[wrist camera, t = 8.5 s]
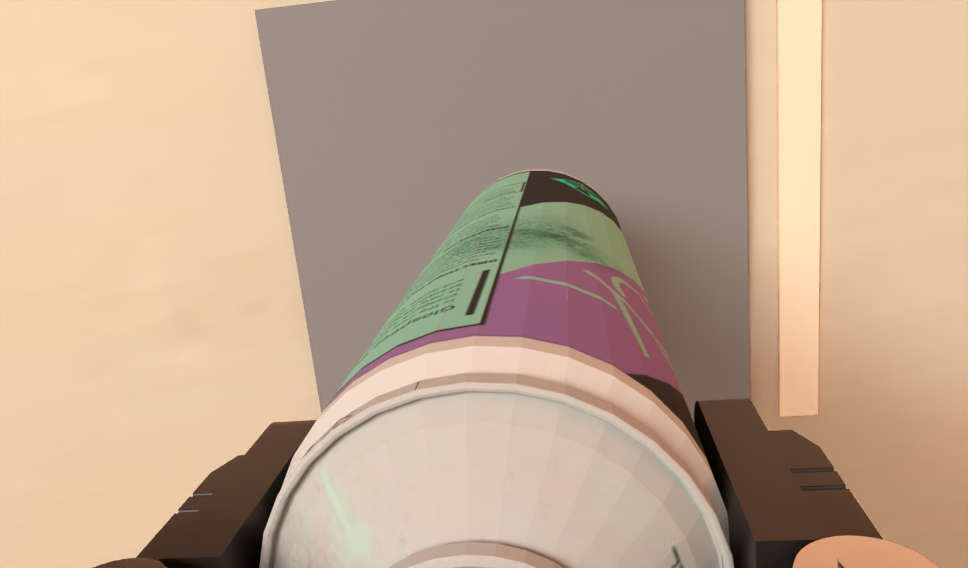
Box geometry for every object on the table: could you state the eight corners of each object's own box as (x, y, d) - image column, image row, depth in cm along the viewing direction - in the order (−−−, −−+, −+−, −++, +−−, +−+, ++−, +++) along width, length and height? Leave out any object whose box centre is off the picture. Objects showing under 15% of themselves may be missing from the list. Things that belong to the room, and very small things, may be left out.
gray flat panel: (820, -56, 27) (825, -58, 27) (816, 412, 32) (820, 417, 32) (259, 11, 30) (254, 10, 29) (329, 437, 34) (326, 442, 34)
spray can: (523, 361, 26) (421, 1129, 7) (422, 236, 26) (2, 724, 6) (657, 267, 25) (965, 898, 6) (555, 132, 24) (526, 353, 5)
